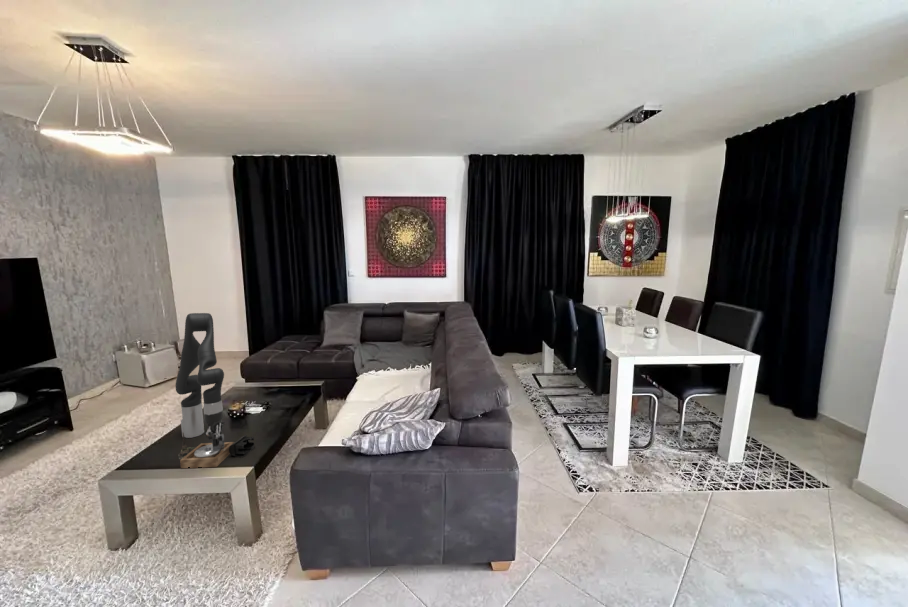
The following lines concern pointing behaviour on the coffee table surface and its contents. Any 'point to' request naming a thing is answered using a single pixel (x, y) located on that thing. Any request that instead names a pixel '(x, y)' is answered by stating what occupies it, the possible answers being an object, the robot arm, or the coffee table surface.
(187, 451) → the eiffel tower figurine
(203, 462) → the wooden square tray
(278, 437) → the coffee table surface
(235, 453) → the end cap
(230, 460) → the coffee table surface
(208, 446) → the dial
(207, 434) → the robot arm
